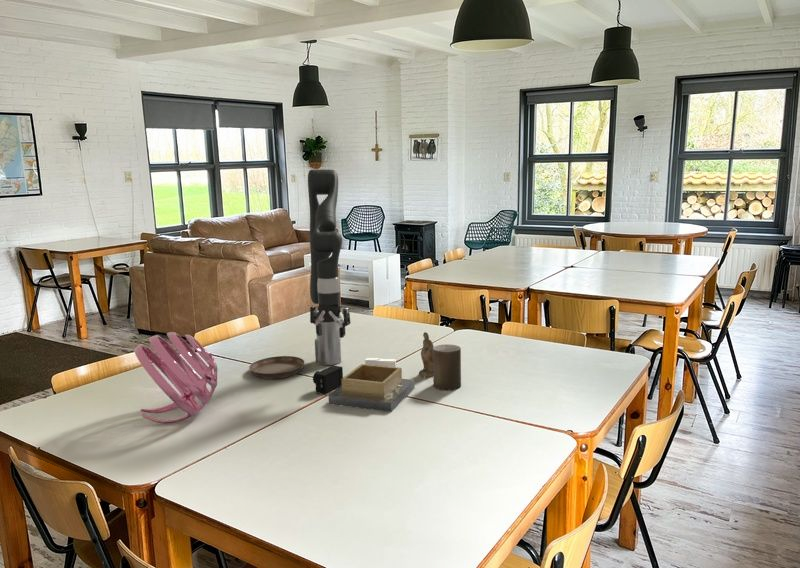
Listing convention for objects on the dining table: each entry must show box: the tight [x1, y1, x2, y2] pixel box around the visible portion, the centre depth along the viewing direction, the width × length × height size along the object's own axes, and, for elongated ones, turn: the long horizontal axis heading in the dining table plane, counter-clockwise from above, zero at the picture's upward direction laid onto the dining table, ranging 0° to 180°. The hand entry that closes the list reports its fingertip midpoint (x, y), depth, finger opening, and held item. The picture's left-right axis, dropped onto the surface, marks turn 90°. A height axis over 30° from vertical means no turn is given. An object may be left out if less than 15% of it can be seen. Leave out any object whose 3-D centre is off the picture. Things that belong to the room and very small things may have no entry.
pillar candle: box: [432, 343, 462, 391], centre depth 219 cm, size 10×10×15 cm
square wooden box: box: [327, 363, 416, 413], centre depth 212 cm, size 22×22×8 cm
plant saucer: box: [248, 355, 305, 380], centre depth 240 cm, size 21×21×3 cm
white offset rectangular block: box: [364, 357, 397, 367], centre depth 237 cm, size 15×11×6 cm
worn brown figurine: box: [418, 331, 435, 378], centre depth 233 cm, size 12×6×18 cm, turn 131°
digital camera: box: [312, 364, 344, 395], centre depth 220 cm, size 10×5×7 cm, turn 149°
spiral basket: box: [134, 331, 219, 424], centre depth 198 cm, size 28×28×27 cm
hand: (330, 336), depth 218 cm, fingers open, 8 cm apart
